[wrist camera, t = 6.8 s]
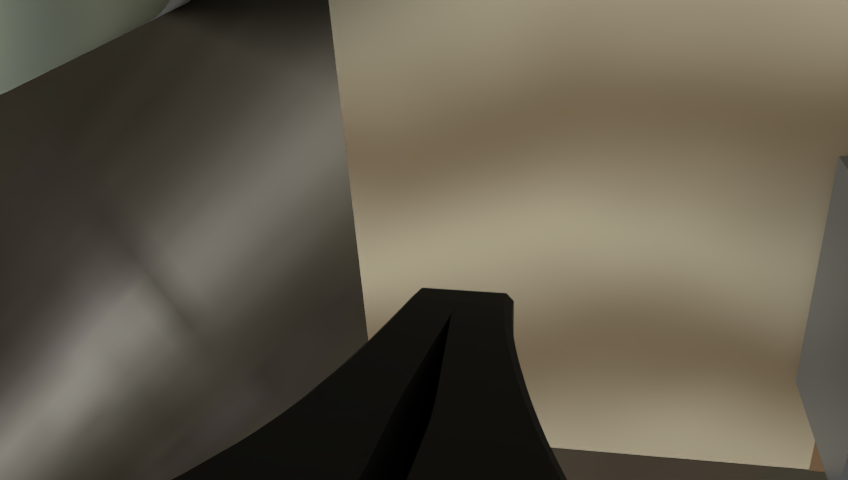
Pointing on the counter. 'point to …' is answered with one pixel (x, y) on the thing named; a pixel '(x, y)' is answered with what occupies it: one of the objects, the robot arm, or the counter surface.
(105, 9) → the green grey capped cylinder
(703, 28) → the wooden cutting board
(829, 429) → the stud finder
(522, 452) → the robot arm
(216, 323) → the counter surface
